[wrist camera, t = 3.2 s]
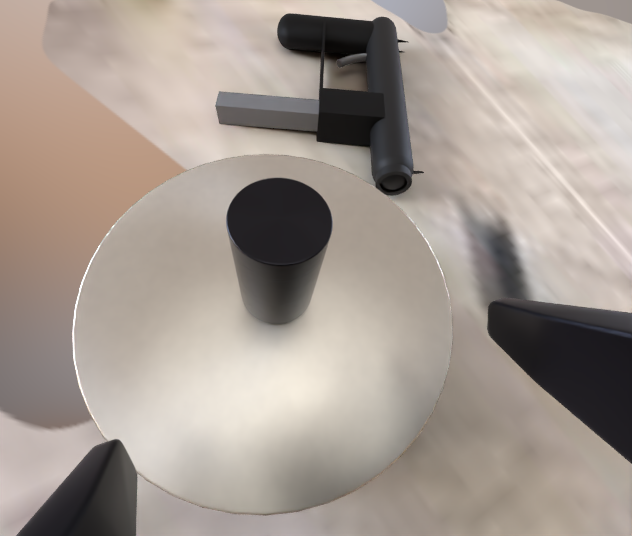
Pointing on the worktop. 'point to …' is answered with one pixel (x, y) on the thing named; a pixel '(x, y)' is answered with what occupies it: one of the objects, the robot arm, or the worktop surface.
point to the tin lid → (262, 334)
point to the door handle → (341, 96)
